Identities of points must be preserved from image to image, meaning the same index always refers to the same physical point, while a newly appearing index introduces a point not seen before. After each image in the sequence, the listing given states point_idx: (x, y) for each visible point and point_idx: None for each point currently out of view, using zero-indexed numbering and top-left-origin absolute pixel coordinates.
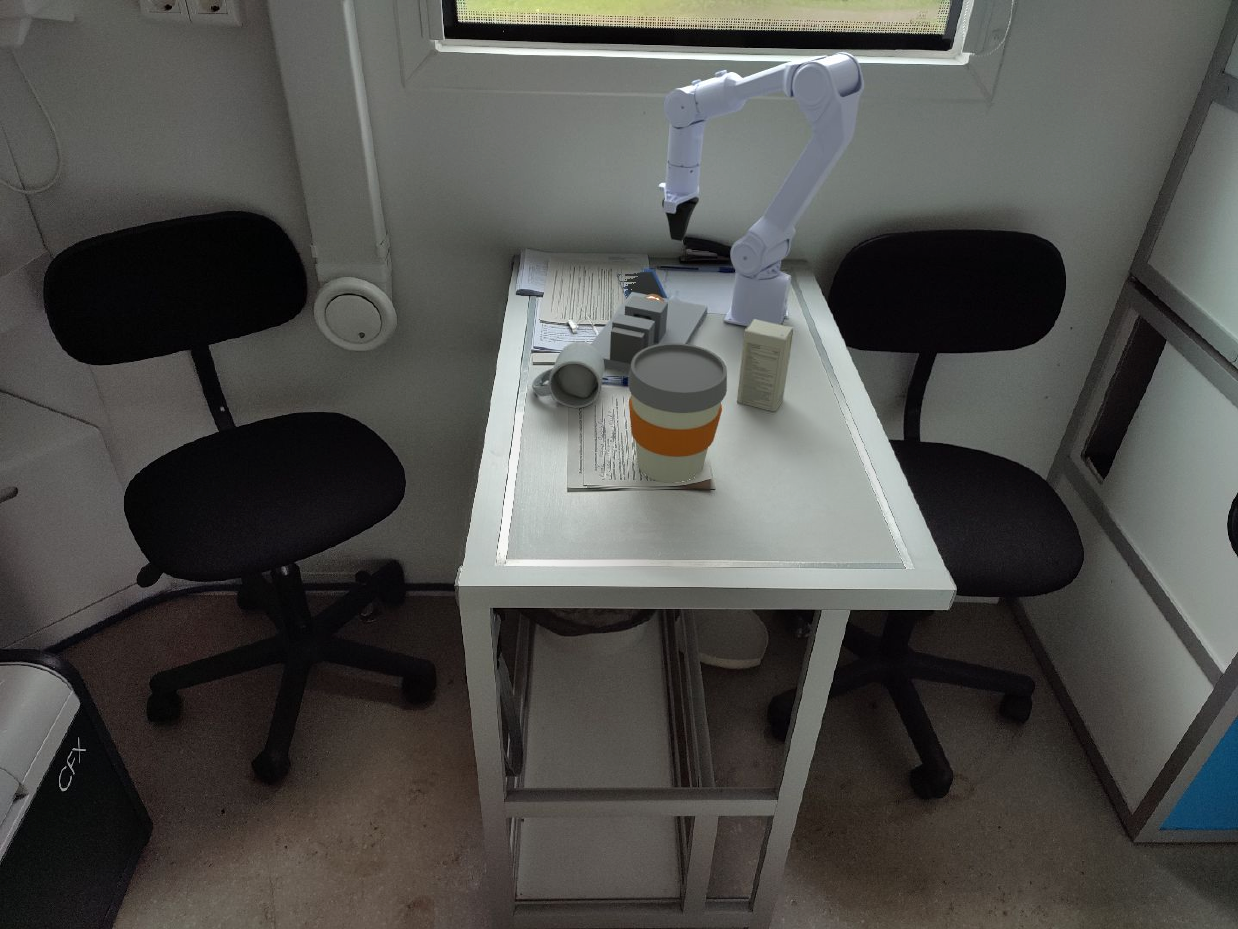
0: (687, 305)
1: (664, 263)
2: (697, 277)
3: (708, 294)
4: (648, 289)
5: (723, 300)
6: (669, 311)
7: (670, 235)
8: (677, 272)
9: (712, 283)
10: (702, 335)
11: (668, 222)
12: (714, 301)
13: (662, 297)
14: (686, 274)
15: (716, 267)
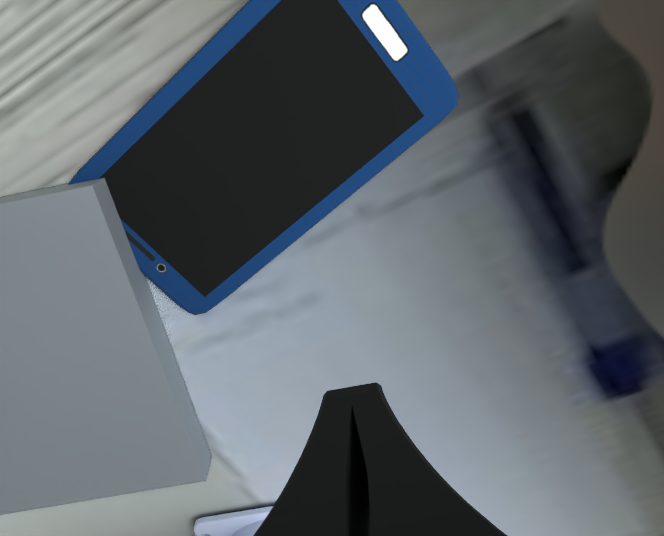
0: (159, 427)
1: (573, 106)
2: (492, 304)
3: None
4: (234, 199)
5: None
6: (62, 399)
7: (321, 404)
8: (499, 211)
9: (467, 373)
10: None
11: (290, 479)
12: None
13: (206, 286)
14: (499, 254)
15: (631, 324)
